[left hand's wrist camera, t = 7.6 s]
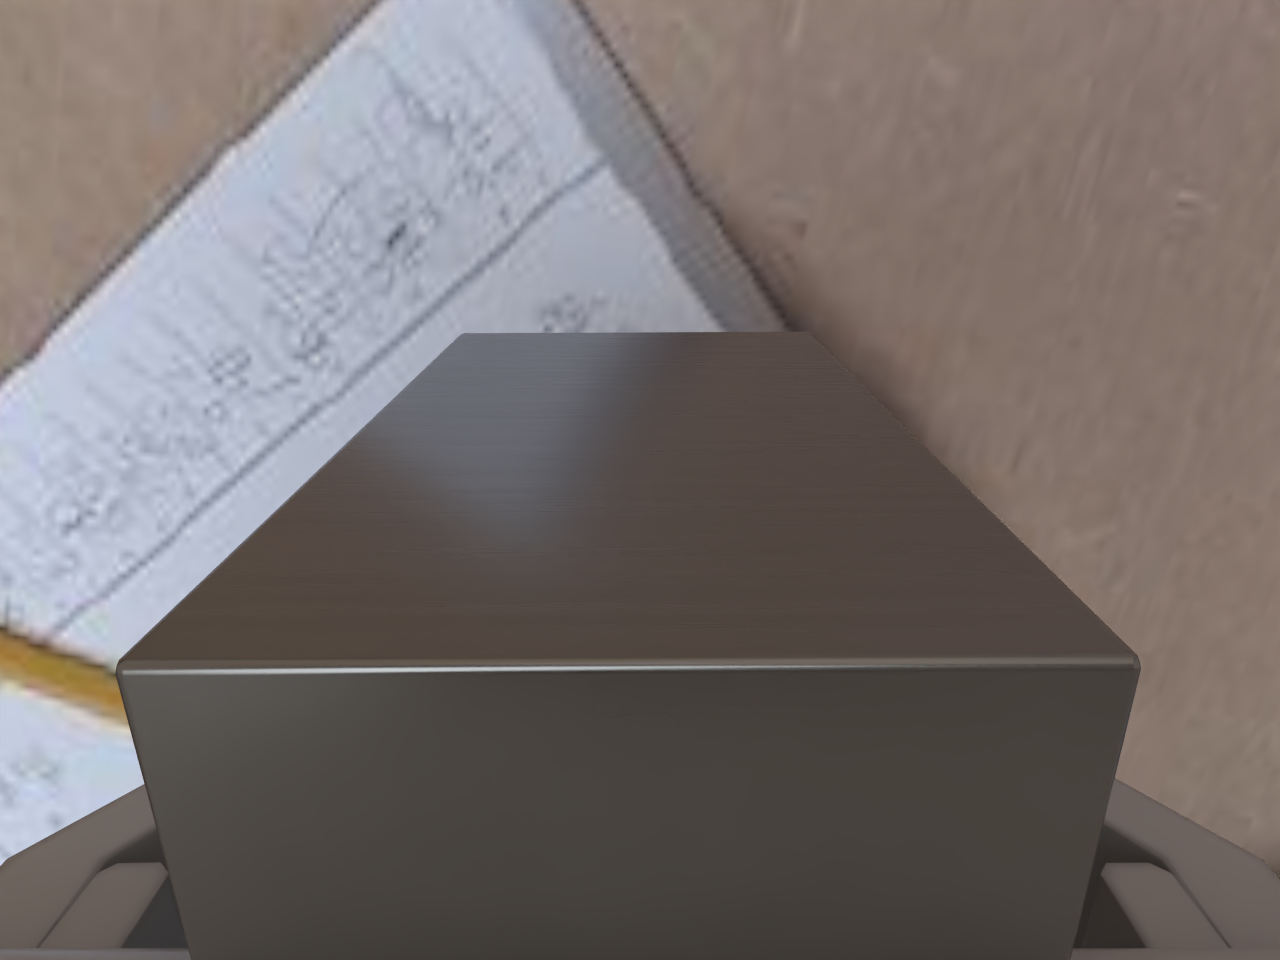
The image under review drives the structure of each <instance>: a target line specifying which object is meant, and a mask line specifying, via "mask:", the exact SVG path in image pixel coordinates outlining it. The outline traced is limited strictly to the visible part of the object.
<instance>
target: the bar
mask: <svg viewBox="0 0 1280 960" xmlns="http://www.w3.org/2000/svg"><path fill="white" fill-rule="evenodd" d="M1140 670H1141V668H1140V661H1139V659H1138V656H1137V655H1136V654H1135V653H1134V652H1133V651H1132V650H1131V649H1130V648H1129V647H1128V646H1127V645H1126V644H1125V643H1124V642H1123V641H1122V640H1121V639H1120V638H1119V637H1118V636H1117V635H1116V634H1115V633H1114V632H1113V631H1112V630H1111V629H1110V628H1109V627H1108V626H1107V625H1106V624H1105V623H1104V622H1103V621H1102V620H1101V619H1100V618H1099V617H1098V616H1097V615H1096V614H1095V613H1094V612H1093V611H1092V610H1091V609H1090V608H1089V607H1088V606H1087V605H1086V604H1084V603H1083V602H1082V601H1081V600H1080V599H1079V598H1078V597H1077V596H1076V595H1075V594H1074V593H1073V592H1072V591H1071V590H1070V589H1069V588H1068V587H1067V586H1066V585H1065V584H1064V583H1063V582H1062V581H1061V580H1060V579H1059V578H1058V577H1057V576H1056V575H1055V574H1054V573H1053V572H1052V571H1051V570H1050V569H1049V568H1048V567H1047V566H1046V565H1045V564H1044V563H1043V562H1042V561H1041V560H1040V559H1039V558H1038V557H1037V556H1036V555H1035V554H1034V553H1033V552H1032V551H1031V550H1030V549H1029V548H1028V547H1026V546H1025V545H1024V544H1023V543H1022V542H1021V541H1020V540H1019V539H1018V538H1017V537H1016V536H1015V535H1014V534H1013V533H1012V532H1011V531H1010V530H1009V529H1008V528H1007V527H1006V526H1005V525H1004V524H1003V523H1002V522H1001V521H1000V520H999V519H998V518H997V517H996V516H995V515H994V514H993V513H992V512H991V511H990V510H989V509H988V508H987V507H986V506H985V505H984V504H983V503H982V502H981V501H980V500H979V499H978V498H977V497H976V496H975V495H974V494H973V493H972V492H971V491H970V490H968V489H967V488H966V487H965V486H964V485H963V484H962V483H961V482H960V481H959V480H958V479H957V478H956V477H955V476H954V475H953V474H952V473H951V472H950V471H949V470H948V469H947V468H946V467H945V466H944V465H943V464H942V463H941V462H940V461H939V460H938V459H937V458H936V457H935V456H934V455H933V454H932V453H931V452H930V451H929V450H928V449H927V448H926V447H925V446H924V445H923V444H922V443H921V442H920V441H919V440H918V439H917V438H916V437H915V436H914V435H913V434H912V433H910V432H909V431H908V430H907V429H906V428H905V427H904V426H903V425H902V424H901V423H900V422H899V421H898V420H897V419H896V418H895V417H894V416H893V415H892V414H891V413H890V412H889V411H888V410H887V409H886V408H885V407H884V406H883V405H882V404H881V403H880V402H879V401H878V400H877V399H876V398H875V397H874V396H873V395H872V394H871V393H870V392H869V391H868V390H867V389H866V388H865V387H864V386H863V385H862V384H861V383H860V382H859V381H858V380H857V379H856V378H855V377H854V376H852V375H851V374H850V373H849V372H848V371H847V370H846V369H845V368H844V367H843V366H842V365H841V364H840V363H839V362H838V361H837V360H836V359H835V358H834V357H833V356H832V355H831V354H830V353H829V352H828V351H827V350H826V349H825V348H824V347H823V346H822V345H821V344H820V343H819V342H818V341H817V340H816V339H815V338H814V337H813V336H812V335H811V334H810V333H808V332H671V333H464V334H461V335H460V336H459V337H458V338H457V339H456V340H455V341H454V342H453V343H452V344H450V345H449V346H448V347H447V348H446V349H445V350H444V351H443V352H442V353H441V354H440V355H439V356H438V357H437V358H436V359H435V360H434V361H433V362H432V363H431V364H429V365H428V366H427V367H426V368H425V369H424V370H423V371H422V372H421V373H420V374H419V375H418V376H417V377H416V378H415V379H414V380H413V381H412V382H411V383H410V384H408V385H407V386H406V387H405V388H404V389H403V390H402V391H401V392H400V393H399V394H398V395H397V396H396V397H395V398H394V399H393V400H392V401H391V402H390V403H389V404H387V405H386V406H385V407H384V408H383V409H382V410H381V411H380V412H379V413H378V414H377V415H376V416H375V417H374V418H373V419H372V420H371V421H370V422H369V423H368V424H366V425H365V426H364V427H363V428H362V429H361V430H360V431H359V432H358V433H357V434H356V435H355V436H354V437H353V438H352V439H351V440H350V441H349V442H348V443H346V444H345V445H344V446H343V447H342V448H341V449H340V450H339V451H338V452H337V453H336V454H335V455H334V456H333V457H332V458H331V459H330V460H329V461H328V462H327V463H325V464H324V465H323V466H322V467H321V468H320V469H319V470H318V471H317V472H316V473H315V474H314V475H313V476H312V477H311V478H310V479H309V480H308V481H307V482H306V483H304V484H303V485H302V486H301V487H300V488H299V489H298V490H297V491H296V492H295V493H294V494H293V495H292V496H291V497H290V498H289V499H288V500H287V501H286V502H285V503H283V504H282V505H281V506H280V507H279V508H278V509H277V510H276V511H275V512H274V513H273V514H272V515H271V516H270V517H269V518H268V519H267V520H266V521H265V522H264V523H262V524H261V525H260V526H259V527H258V528H257V529H256V530H255V531H254V532H253V533H252V534H251V535H250V536H249V537H248V538H247V539H246V540H245V541H244V542H243V543H241V544H240V545H239V546H238V547H237V548H236V549H235V550H234V551H233V552H232V553H231V554H230V555H229V556H228V557H227V558H226V559H225V560H224V561H223V562H222V563H220V564H219V565H218V566H217V567H216V568H215V569H214V570H213V571H212V572H211V573H210V574H209V575H208V576H207V577H206V578H205V579H204V580H203V581H202V582H201V583H199V584H198V585H197V586H196V587H195V588H194V589H193V590H192V591H191V592H190V593H189V594H188V595H187V596H186V597H185V598H184V599H183V600H182V601H181V602H179V603H178V604H177V605H176V606H175V607H174V608H173V609H172V610H171V611H170V612H169V613H168V614H167V615H166V616H165V617H164V618H163V619H162V620H161V621H160V622H158V623H157V624H156V625H155V626H154V627H153V628H152V629H151V630H150V631H149V632H148V633H147V634H146V635H145V636H144V637H143V638H142V639H141V640H140V641H139V642H137V643H136V644H135V645H134V646H133V647H132V648H131V649H130V650H129V651H128V652H127V653H126V654H125V655H124V656H123V657H122V658H121V659H120V660H119V662H118V664H117V668H116V677H117V681H118V685H119V689H120V693H121V696H122V700H123V704H124V708H125V711H126V715H127V719H128V723H129V727H130V730H131V734H132V738H133V742H134V746H135V749H136V753H137V757H138V761H139V764H140V768H141V772H142V776H143V780H144V783H145V787H146V791H147V795H148V798H149V802H150V806H151V810H152V814H153V817H154V821H155V825H156V829H157V832H158V836H159V840H160V844H161V848H162V851H163V855H164V859H165V863H166V867H167V870H168V874H169V878H170V882H171V885H172V889H173V893H174V897H175V901H176V904H177V908H178V912H179V916H180V919H181V923H182V927H183V931H184V935H185V938H186V942H187V946H188V950H189V953H190V957H191V960H1071V955H1072V951H1073V947H1074V943H1075V939H1076V935H1077V931H1078V926H1079V922H1080V918H1081V914H1082V910H1083V906H1084V902H1085V898H1086V893H1087V889H1088V885H1089V881H1090V877H1091V873H1092V869H1093V864H1094V860H1095V856H1096V852H1097V848H1098V844H1099V840H1100V836H1101V831H1102V827H1103V823H1104V819H1105V815H1106V811H1107V807H1108V803H1109V798H1110V794H1111V790H1112V786H1113V782H1114V778H1115V774H1116V769H1117V765H1118V761H1119V757H1120V753H1121V749H1122V745H1123V741H1124V736H1125V732H1126V728H1127V724H1128V720H1129V716H1130V712H1131V708H1132V703H1133V699H1134V695H1135V691H1136V687H1137V683H1138V679H1139V674H1140Z"/></svg>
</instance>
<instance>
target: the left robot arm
mask: <svg viewBox="0 0 1280 960" xmlns="http://www.w3.org/2000/svg"><path fill="white" fill-rule="evenodd" d="M0 960H191V957H190V953H189V950H188V946H187V942H186V938H185V935H184V931H183V927H182V923H181V919H180V916H179V912H178V908H177V904H176V901H175V897H174V893H173V889H172V885H171V882H170V878H169V874H168V870H167V867H166V863H165V859H164V855H163V851H162V848H161V844H160V840H159V836H158V832H157V829H156V825H155V821H154V817H153V814H152V810H151V806H150V802H149V798H148V795H147V791H146V787H145V784H144V785H142V786H140V787H138V788H136V789H135V790H133V791H131V792H129V793H127V794H125V795H124V796H122V797H120V798H118V799H116V800H114V801H113V802H111V803H109V804H107V805H105V806H103V807H102V808H100V809H98V810H96V811H94V812H92V813H91V814H89V815H87V816H85V817H83V818H81V819H80V820H78V821H76V822H74V823H72V824H70V825H69V826H67V827H65V828H63V829H61V830H59V831H58V832H56V833H54V834H52V835H50V836H48V837H47V838H45V839H43V840H41V841H39V842H37V843H36V844H34V845H32V846H30V847H28V848H26V849H25V850H23V851H21V852H19V853H17V854H15V855H14V856H12V857H10V858H8V859H7V860H6V861H5V862H4V863H3V864H2V865H1V866H0ZM1071 960H1280V878H1279V877H1278V876H1277V875H1276V874H1275V873H1274V872H1273V870H1272V869H1271V868H1270V867H1269V866H1268V865H1267V864H1266V863H1265V861H1264V860H1262V859H1260V858H1258V857H1257V856H1255V855H1253V854H1251V853H1249V852H1247V851H1246V850H1244V849H1242V848H1240V847H1238V846H1237V845H1235V844H1233V843H1231V842H1229V841H1228V840H1226V839H1224V838H1222V837H1220V836H1218V835H1217V834H1215V833H1213V832H1211V831H1209V830H1208V829H1206V828H1204V827H1202V826H1200V825H1199V824H1197V823H1195V822H1193V821H1191V820H1190V819H1188V818H1186V817H1184V816H1182V815H1180V814H1179V813H1177V812H1175V811H1173V810H1171V809H1170V808H1168V807H1166V806H1164V805H1162V804H1161V803H1159V802H1157V801H1155V800H1153V799H1152V798H1150V797H1148V796H1146V795H1144V794H1142V793H1141V792H1139V791H1137V790H1135V789H1133V788H1132V787H1130V786H1128V785H1126V784H1124V783H1123V782H1121V781H1119V780H1117V779H1115V778H1114V782H1113V786H1112V790H1111V794H1110V798H1109V803H1108V807H1107V811H1106V815H1105V819H1104V823H1103V827H1102V831H1101V836H1100V840H1099V844H1098V848H1097V852H1096V856H1095V860H1094V864H1093V869H1092V873H1091V877H1090V881H1089V885H1088V889H1087V893H1086V898H1085V902H1084V906H1083V910H1082V914H1081V918H1080V922H1079V926H1078V931H1077V935H1076V939H1075V943H1074V947H1073V951H1072V955H1071Z"/></svg>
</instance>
